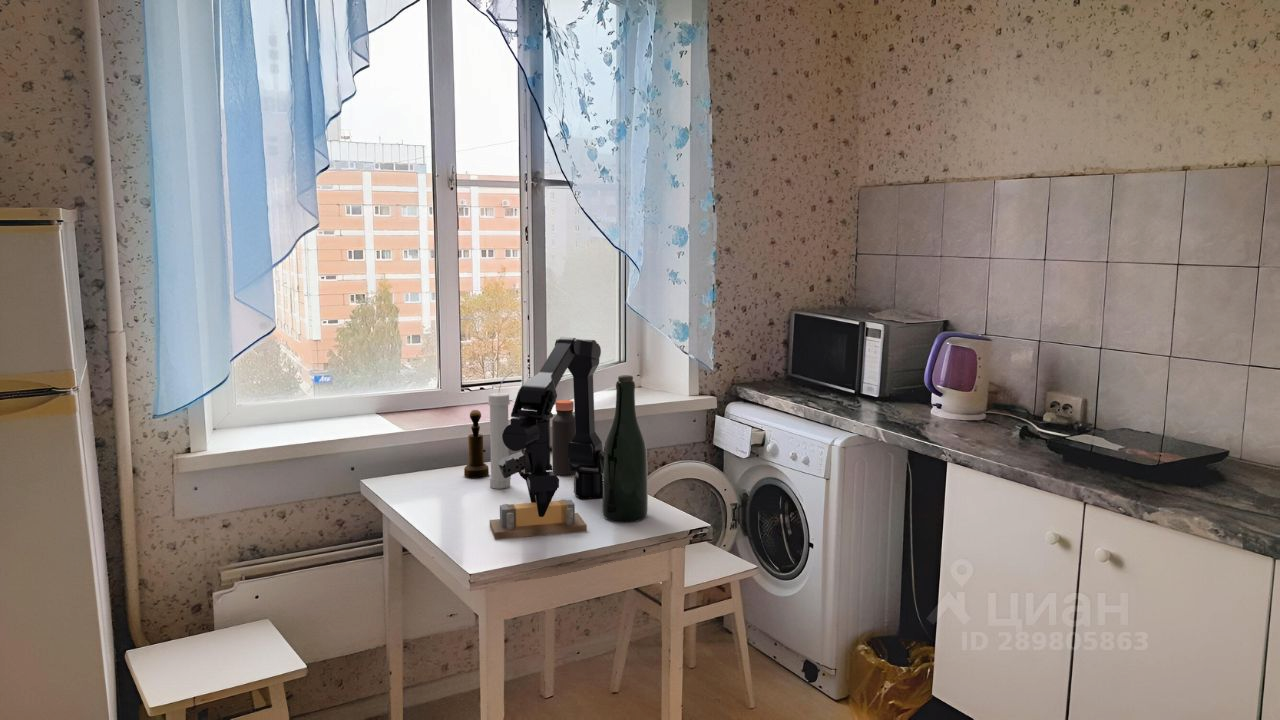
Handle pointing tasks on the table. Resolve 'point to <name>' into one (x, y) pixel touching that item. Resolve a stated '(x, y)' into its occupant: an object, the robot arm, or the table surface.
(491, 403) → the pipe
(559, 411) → the vinegar
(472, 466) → the pepper mill
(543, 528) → the rack
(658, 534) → the table surface
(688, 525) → the table surface
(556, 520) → the bar
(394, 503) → the table surface
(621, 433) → the green wine bottle
